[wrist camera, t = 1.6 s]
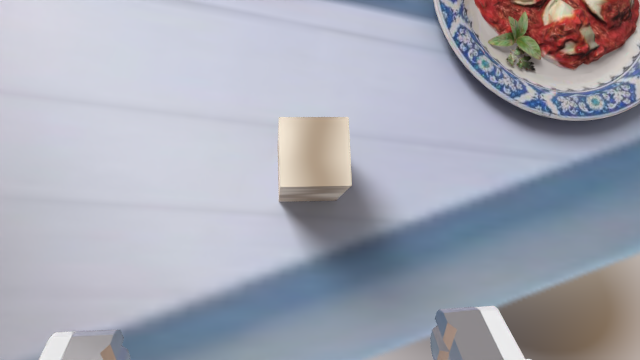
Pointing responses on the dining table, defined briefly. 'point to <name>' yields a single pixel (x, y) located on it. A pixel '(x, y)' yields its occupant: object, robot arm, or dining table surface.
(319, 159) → the ash block
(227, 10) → the dining table surface
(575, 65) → the ceramic plate
